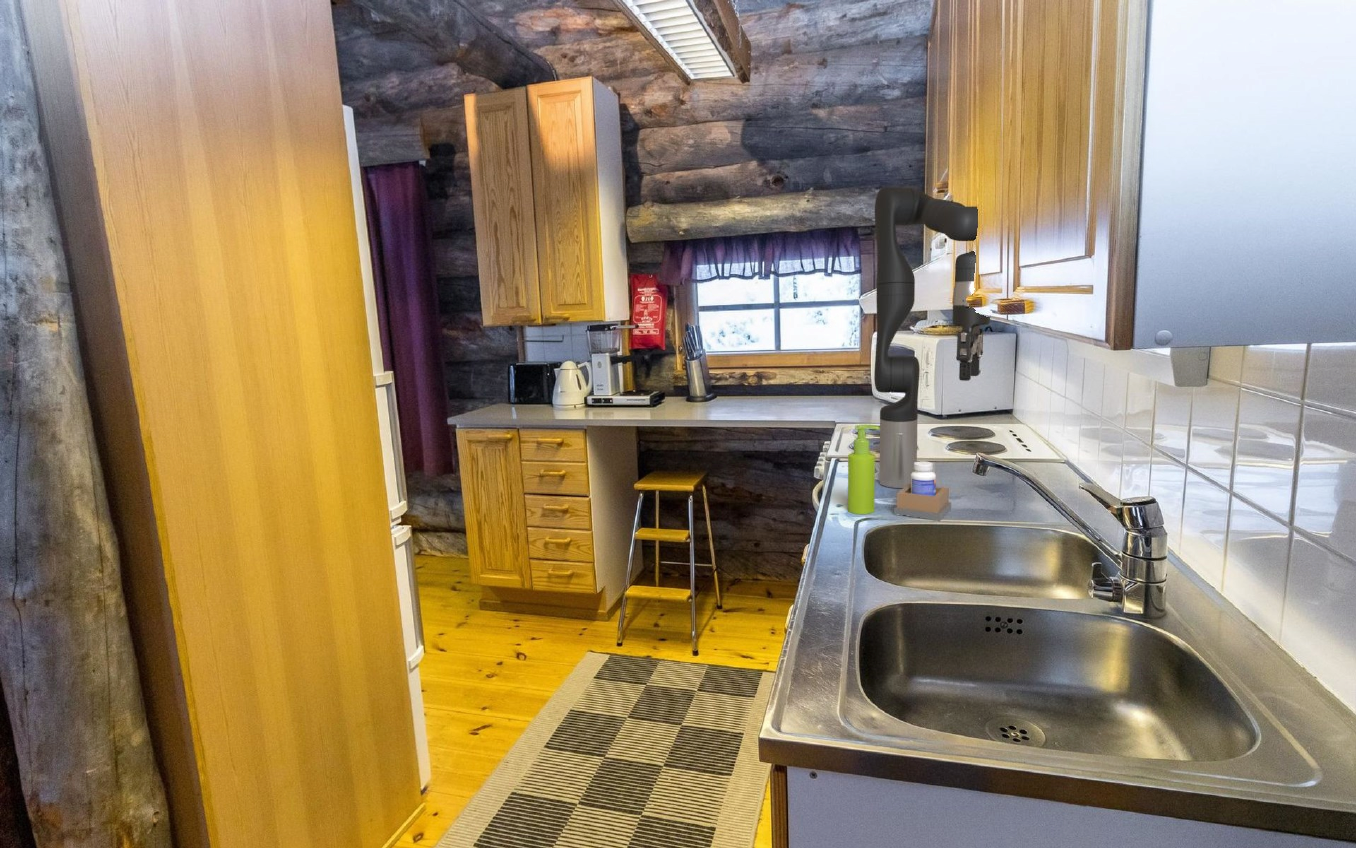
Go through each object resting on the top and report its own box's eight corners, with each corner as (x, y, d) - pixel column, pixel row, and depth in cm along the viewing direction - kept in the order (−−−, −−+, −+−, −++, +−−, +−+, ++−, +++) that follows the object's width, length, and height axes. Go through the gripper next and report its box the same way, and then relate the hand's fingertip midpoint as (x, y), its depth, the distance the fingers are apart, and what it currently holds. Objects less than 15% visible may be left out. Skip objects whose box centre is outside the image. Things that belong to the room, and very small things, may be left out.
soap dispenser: (880, 514, 157) (881, 427, 154) (848, 514, 159) (848, 427, 155) (878, 507, 163) (878, 422, 159) (847, 506, 164) (847, 423, 161)
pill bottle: (939, 507, 155) (940, 465, 154) (915, 509, 155) (916, 466, 154) (930, 501, 161) (931, 460, 159) (906, 502, 161) (907, 461, 159)
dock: (906, 503, 165) (907, 482, 164) (951, 508, 159) (951, 487, 158) (893, 514, 157) (894, 493, 156) (940, 521, 151) (940, 498, 150)
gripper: (960, 302, 157) (958, 374, 160) (945, 304, 146) (943, 381, 149) (996, 301, 153) (993, 375, 156) (983, 303, 142) (980, 382, 145)
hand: (969, 378), depth 152 cm, fingers open, 8 cm apart
